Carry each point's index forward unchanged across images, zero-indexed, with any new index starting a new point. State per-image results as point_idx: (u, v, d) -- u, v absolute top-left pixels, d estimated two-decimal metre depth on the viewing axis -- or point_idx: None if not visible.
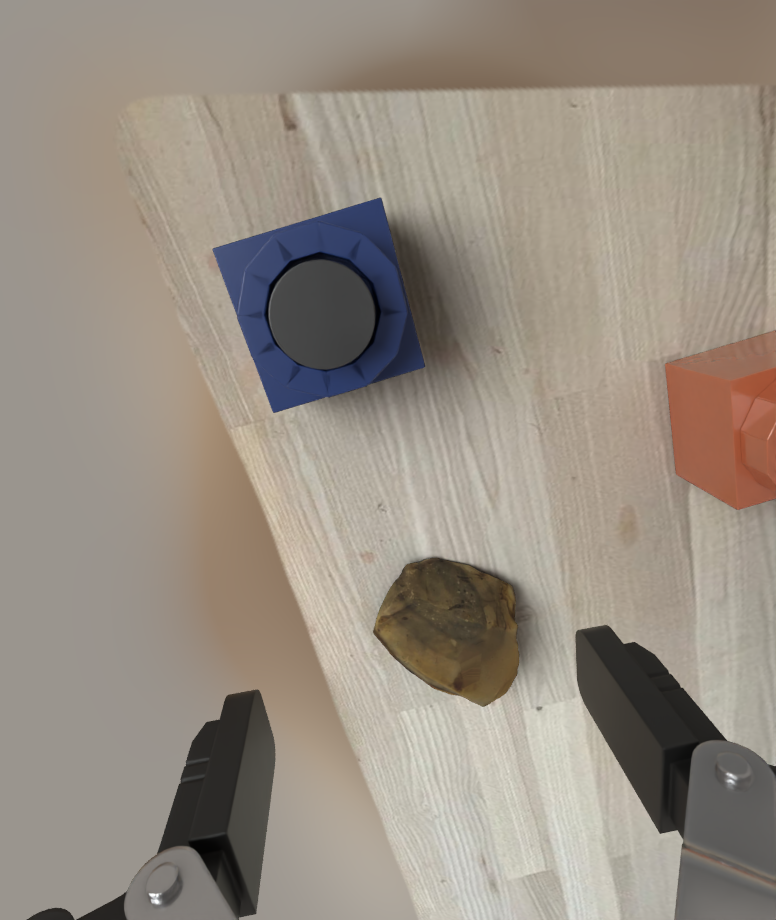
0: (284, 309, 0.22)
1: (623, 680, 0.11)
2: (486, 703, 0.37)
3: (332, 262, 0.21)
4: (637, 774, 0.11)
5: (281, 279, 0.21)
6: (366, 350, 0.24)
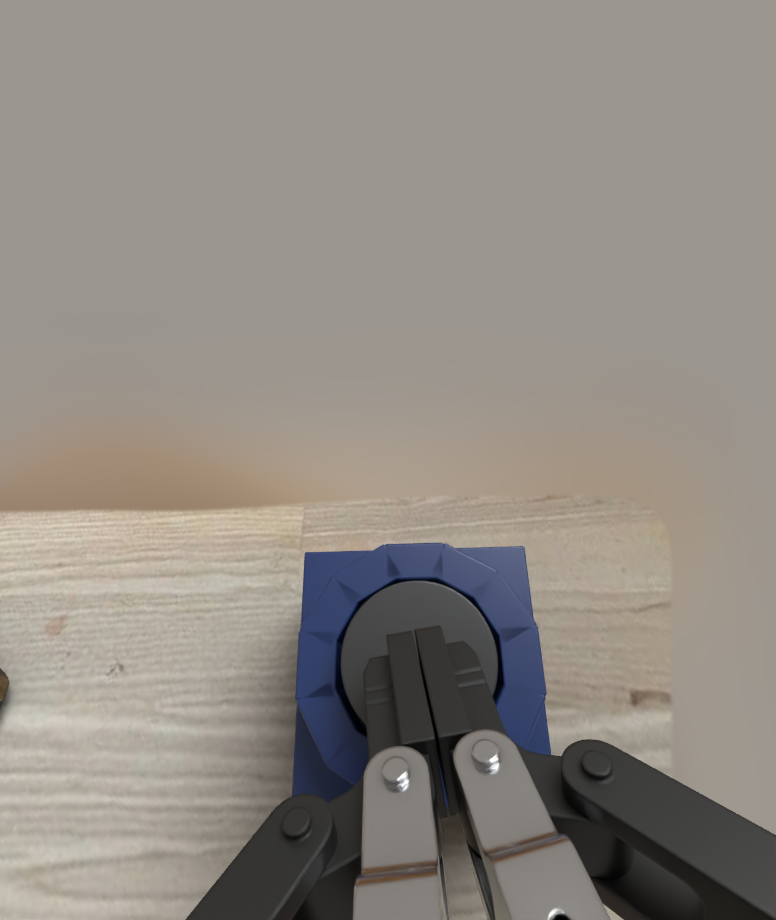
0: (440, 607, 0.15)
1: (431, 675, 0.12)
2: None
3: None
4: (440, 762, 0.12)
5: (480, 616, 0.15)
6: (348, 714, 0.15)
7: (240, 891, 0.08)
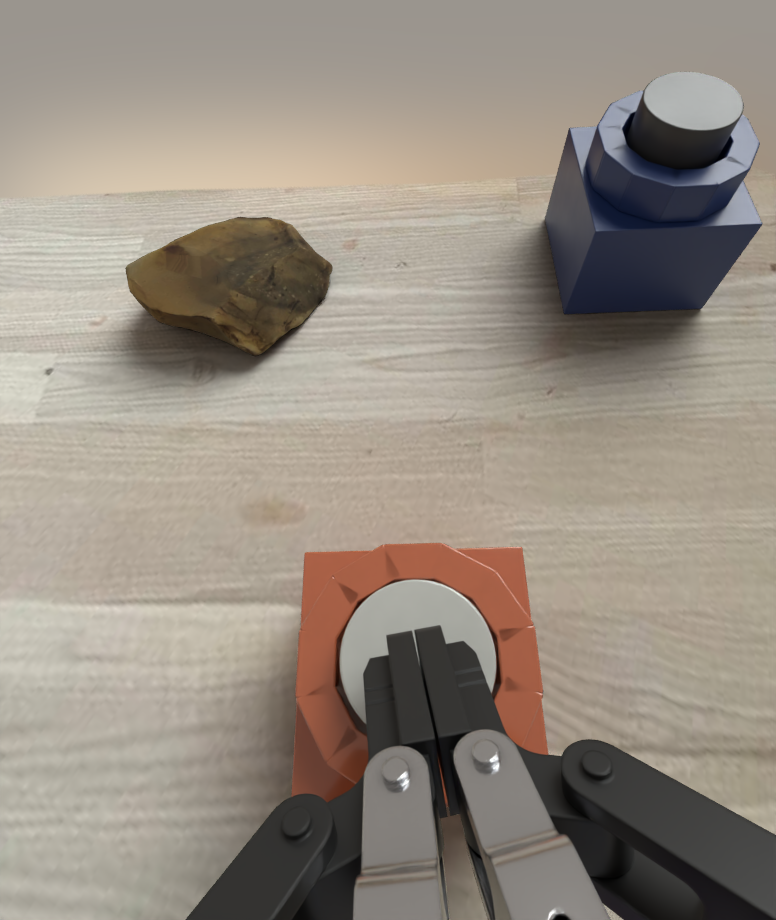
0: (700, 80, 0.25)
1: (431, 675, 0.12)
2: (129, 269, 0.29)
3: (741, 111, 0.23)
4: (440, 762, 0.12)
5: (726, 83, 0.24)
6: (639, 156, 0.25)
7: (240, 892, 0.08)
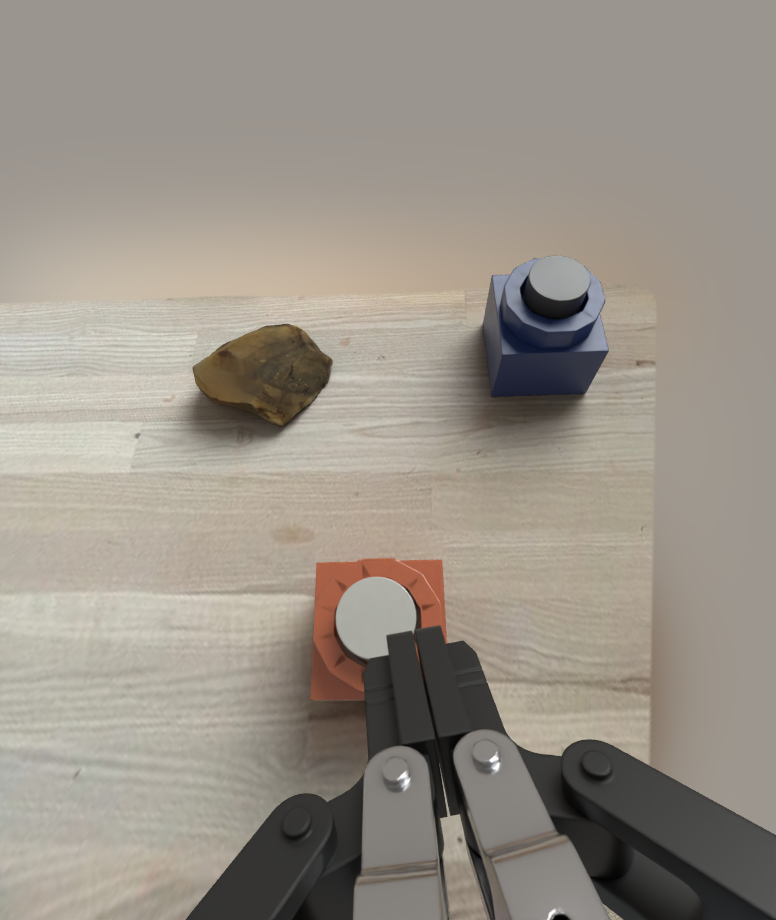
0: (565, 262, 0.39)
1: (431, 675, 0.12)
2: (195, 369, 0.44)
3: (588, 287, 0.38)
4: (440, 762, 0.12)
5: (582, 265, 0.39)
6: (528, 309, 0.39)
7: (241, 891, 0.08)
